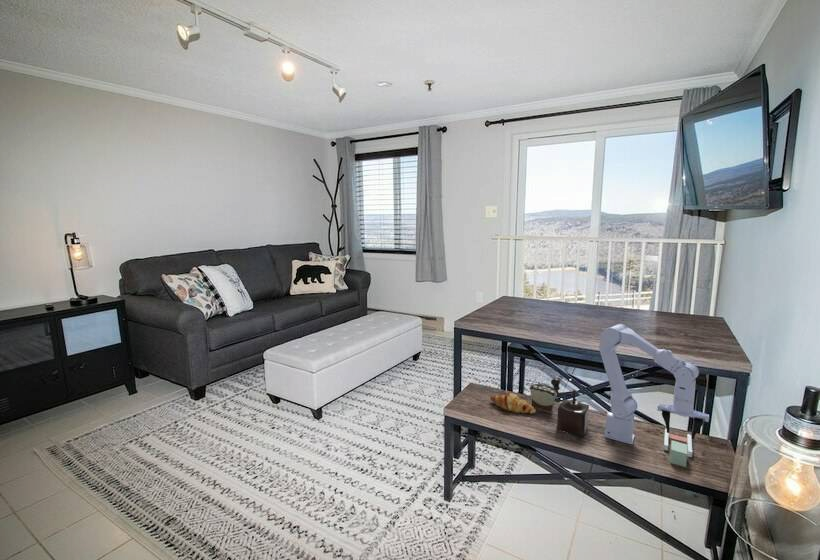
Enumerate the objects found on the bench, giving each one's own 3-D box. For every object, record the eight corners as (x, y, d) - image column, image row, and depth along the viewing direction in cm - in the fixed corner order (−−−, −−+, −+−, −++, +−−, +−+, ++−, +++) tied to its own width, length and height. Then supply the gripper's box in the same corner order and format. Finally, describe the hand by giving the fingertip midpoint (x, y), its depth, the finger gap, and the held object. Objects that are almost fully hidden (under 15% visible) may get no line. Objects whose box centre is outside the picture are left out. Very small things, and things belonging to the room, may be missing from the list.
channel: (663, 449, 142) (664, 444, 142) (664, 433, 154) (665, 428, 153) (691, 457, 138) (692, 452, 137) (690, 439, 149) (691, 434, 149)
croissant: (537, 419, 172) (540, 401, 174) (531, 417, 164) (535, 398, 166) (492, 406, 184) (495, 389, 186) (485, 404, 176) (489, 386, 178)
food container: (560, 409, 174) (561, 388, 172) (555, 414, 169) (556, 392, 168) (534, 401, 182) (535, 381, 181) (528, 405, 177) (529, 385, 176)
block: (670, 463, 135) (671, 449, 134) (670, 453, 140) (671, 440, 140) (685, 467, 132) (687, 454, 131) (685, 457, 138) (686, 444, 137)
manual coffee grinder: (588, 425, 160) (591, 384, 157) (583, 437, 151) (586, 393, 148) (550, 415, 168) (552, 376, 166) (543, 426, 159) (545, 384, 157)
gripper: (658, 396, 134) (655, 433, 136) (711, 407, 126) (706, 446, 128) (659, 389, 140) (656, 425, 142) (709, 399, 132) (705, 437, 134)
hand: (680, 434), depth 135 cm, fingers open, 6 cm apart
